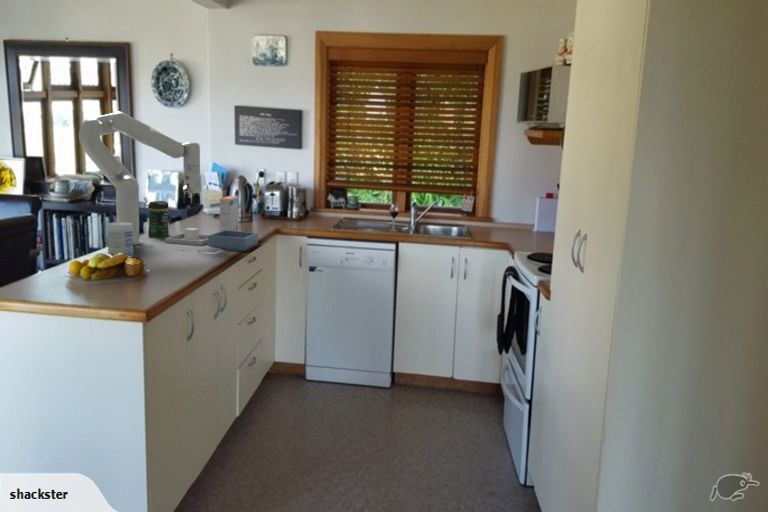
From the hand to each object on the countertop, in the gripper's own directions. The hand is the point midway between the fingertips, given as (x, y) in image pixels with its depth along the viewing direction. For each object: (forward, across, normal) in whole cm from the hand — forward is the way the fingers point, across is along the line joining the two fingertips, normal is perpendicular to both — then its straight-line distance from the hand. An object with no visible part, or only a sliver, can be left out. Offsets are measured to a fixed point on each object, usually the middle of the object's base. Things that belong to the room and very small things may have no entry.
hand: (192, 204), depth 292 cm
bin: (+19, +1, -20) cm, 28 cm away
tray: (+19, 0, 0) cm, 19 cm away
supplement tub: (+19, -45, +10) cm, 50 cm away
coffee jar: (+19, +6, +21) cm, 29 cm away
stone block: (+18, 0, 0) cm, 18 cm away
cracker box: (+19, +25, -8) cm, 32 cm away
